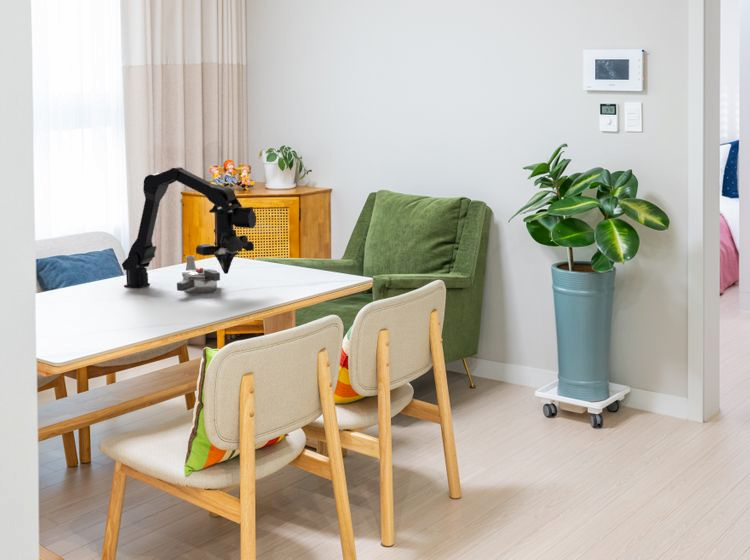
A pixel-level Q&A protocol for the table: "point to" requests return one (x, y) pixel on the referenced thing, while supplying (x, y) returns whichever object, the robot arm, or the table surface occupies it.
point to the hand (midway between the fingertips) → (225, 273)
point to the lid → (202, 274)
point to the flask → (190, 263)
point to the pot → (197, 285)
